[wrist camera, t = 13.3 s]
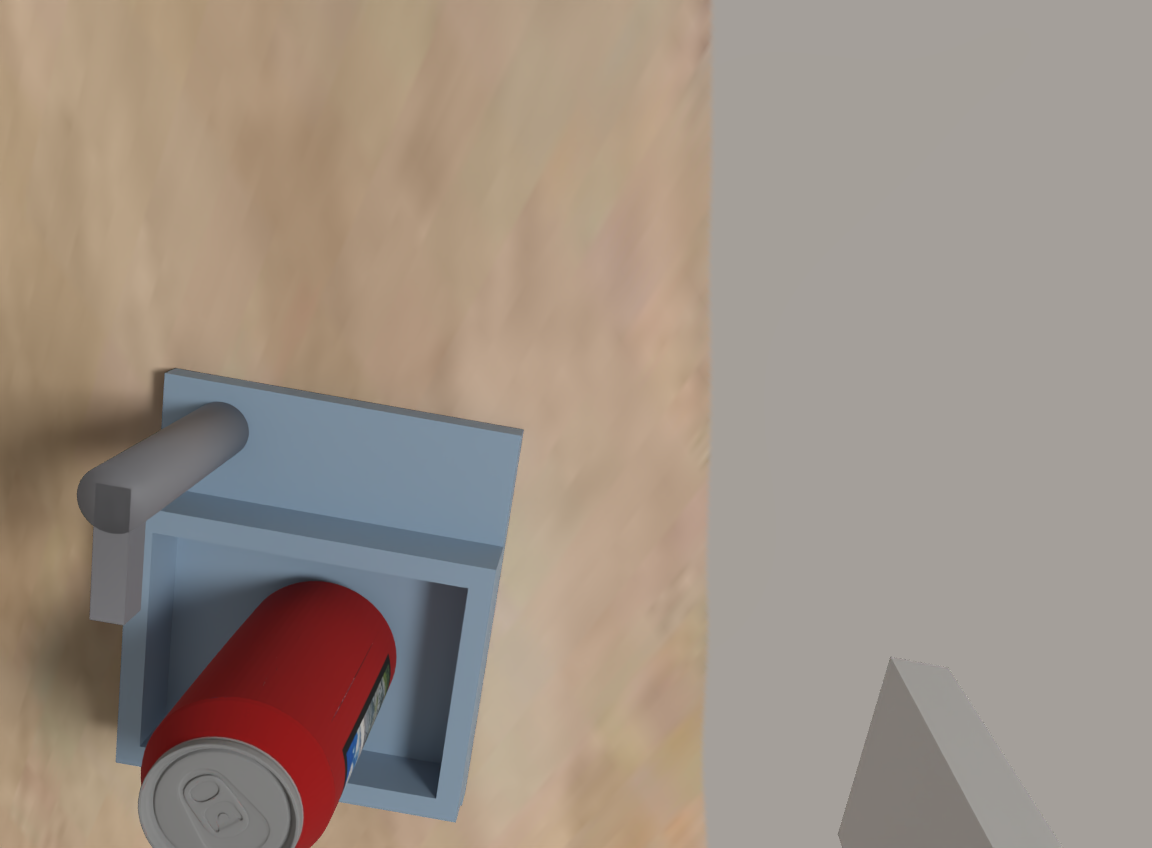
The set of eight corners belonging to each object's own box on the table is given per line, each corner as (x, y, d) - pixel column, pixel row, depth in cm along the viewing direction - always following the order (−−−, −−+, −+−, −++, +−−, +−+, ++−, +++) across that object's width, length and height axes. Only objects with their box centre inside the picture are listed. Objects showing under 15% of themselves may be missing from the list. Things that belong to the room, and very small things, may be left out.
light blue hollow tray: (175, 368, 42) (39, 429, 32) (523, 429, 41) (493, 509, 32) (151, 736, 46) (27, 887, 36) (465, 792, 46) (423, 958, 36)
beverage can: (304, 734, 45) (193, 933, 33) (221, 614, 43) (74, 777, 32) (430, 671, 43) (360, 854, 32) (348, 546, 42) (245, 690, 31)
